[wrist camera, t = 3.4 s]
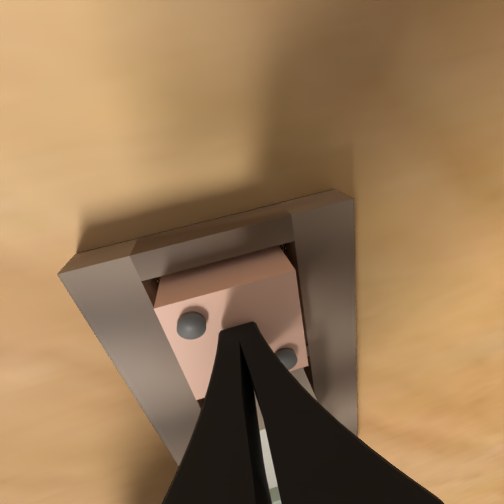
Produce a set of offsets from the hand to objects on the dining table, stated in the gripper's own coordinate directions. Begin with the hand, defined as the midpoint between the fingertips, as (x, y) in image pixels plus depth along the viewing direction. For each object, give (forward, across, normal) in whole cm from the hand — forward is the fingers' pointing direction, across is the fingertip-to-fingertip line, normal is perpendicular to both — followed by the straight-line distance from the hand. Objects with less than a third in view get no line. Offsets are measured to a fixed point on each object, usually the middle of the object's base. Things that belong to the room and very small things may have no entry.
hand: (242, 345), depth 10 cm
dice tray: (+3, 0, +6) cm, 7 cm away
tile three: (+3, 0, 0) cm, 3 cm away
